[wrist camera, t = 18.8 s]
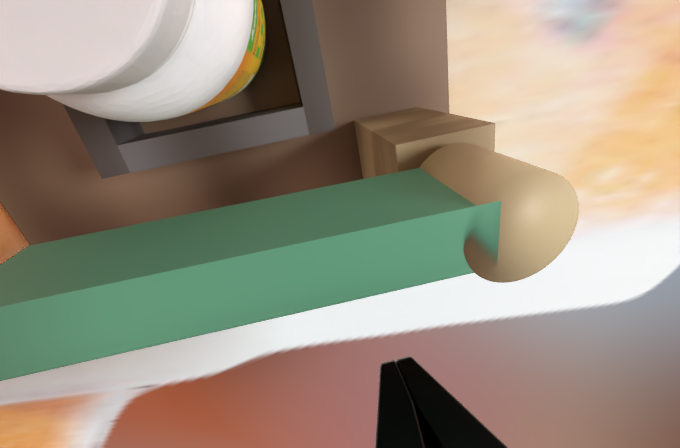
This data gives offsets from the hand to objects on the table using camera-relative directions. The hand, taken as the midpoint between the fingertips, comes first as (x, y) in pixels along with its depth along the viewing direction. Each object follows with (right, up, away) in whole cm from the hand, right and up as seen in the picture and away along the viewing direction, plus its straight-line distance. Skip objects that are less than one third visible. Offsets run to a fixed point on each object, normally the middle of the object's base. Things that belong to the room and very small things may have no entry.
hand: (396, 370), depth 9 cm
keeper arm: (-3, +4, +1) cm, 5 cm away
